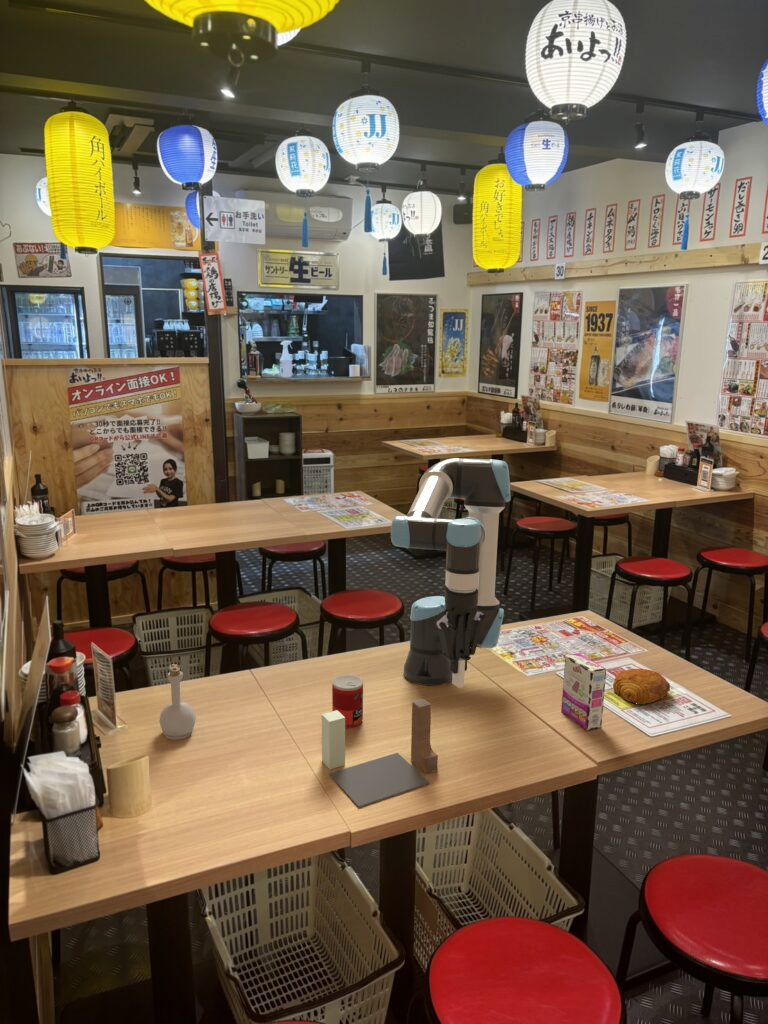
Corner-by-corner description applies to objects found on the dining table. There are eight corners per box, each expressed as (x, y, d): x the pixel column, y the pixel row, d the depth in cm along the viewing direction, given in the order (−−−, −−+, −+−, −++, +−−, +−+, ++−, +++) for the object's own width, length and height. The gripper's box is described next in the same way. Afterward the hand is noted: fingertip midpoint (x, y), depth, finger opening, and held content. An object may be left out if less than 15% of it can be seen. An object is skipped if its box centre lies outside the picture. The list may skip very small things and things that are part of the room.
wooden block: (410, 760, 172) (411, 701, 169) (422, 756, 174) (423, 698, 171) (425, 773, 167) (427, 713, 163) (437, 770, 168) (439, 710, 165)
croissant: (676, 704, 206) (682, 677, 205) (642, 711, 197) (648, 683, 196) (633, 683, 218) (639, 658, 217) (600, 689, 209) (605, 663, 208)
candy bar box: (602, 727, 188) (607, 668, 185) (587, 731, 186) (591, 671, 183) (575, 708, 198) (579, 651, 195) (560, 711, 196) (564, 654, 193)
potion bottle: (184, 720, 189) (181, 655, 185) (202, 733, 183) (199, 666, 179) (153, 732, 183) (148, 665, 179) (170, 746, 177) (166, 677, 173)
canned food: (359, 729, 186) (359, 689, 183) (328, 726, 187) (328, 686, 185) (365, 715, 193) (366, 676, 190) (336, 712, 194) (336, 673, 192)
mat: (397, 754, 175) (397, 752, 175) (429, 783, 163) (429, 782, 163) (329, 774, 166) (329, 773, 166) (358, 807, 154) (358, 806, 154)
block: (337, 756, 173) (337, 710, 171) (345, 764, 170) (345, 717, 167) (322, 761, 171) (321, 714, 169) (329, 769, 168) (329, 721, 165)
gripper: (474, 579, 172) (470, 673, 177) (428, 587, 165) (425, 684, 170) (494, 588, 166) (490, 685, 170) (447, 596, 159) (444, 697, 164)
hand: (458, 684), depth 170 cm, fingers closed
